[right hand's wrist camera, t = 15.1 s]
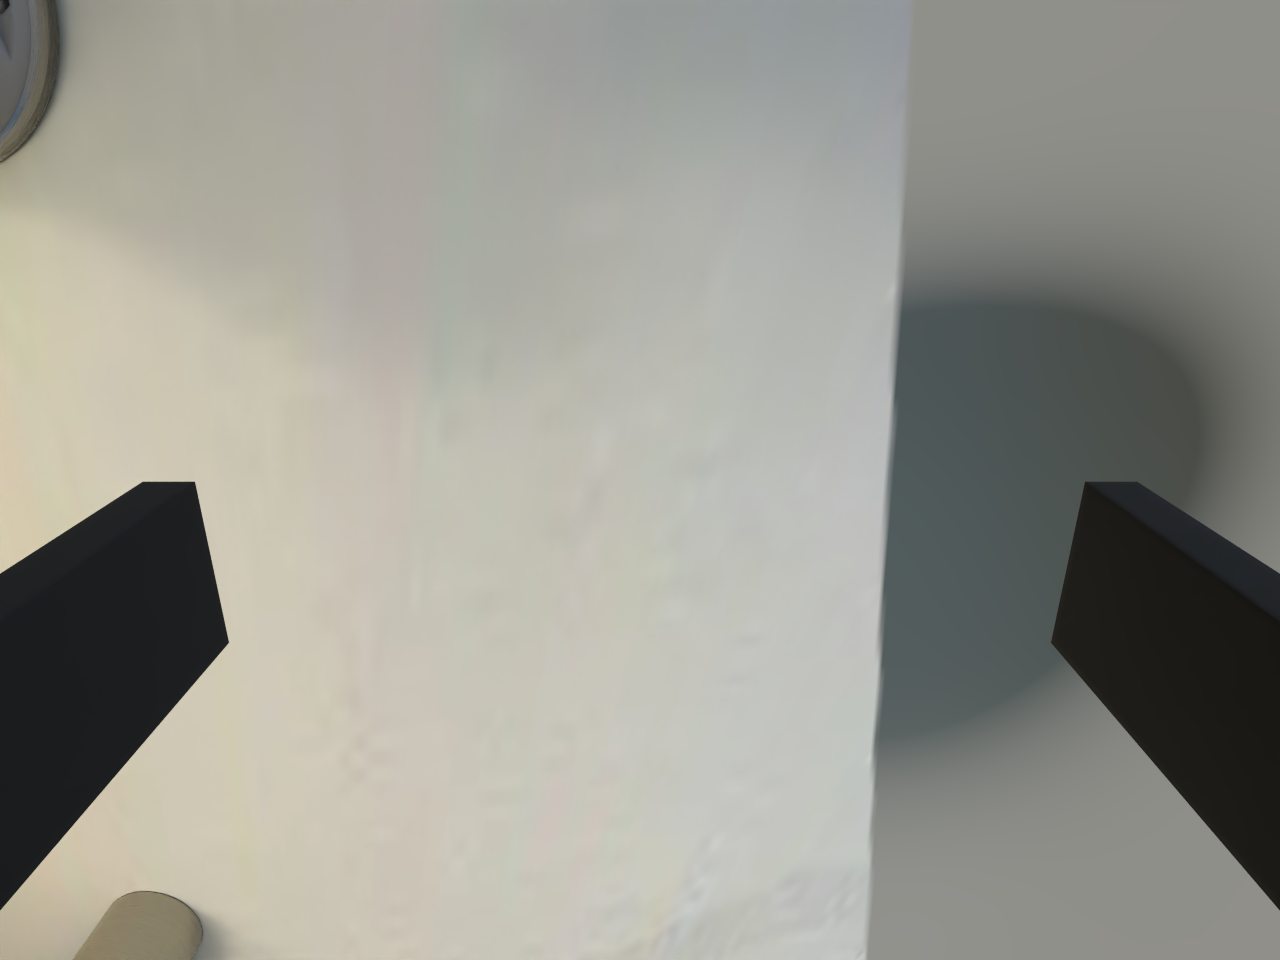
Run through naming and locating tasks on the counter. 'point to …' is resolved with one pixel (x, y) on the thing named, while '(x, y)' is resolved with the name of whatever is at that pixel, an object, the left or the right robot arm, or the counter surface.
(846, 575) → the counter surface
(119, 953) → the tin
